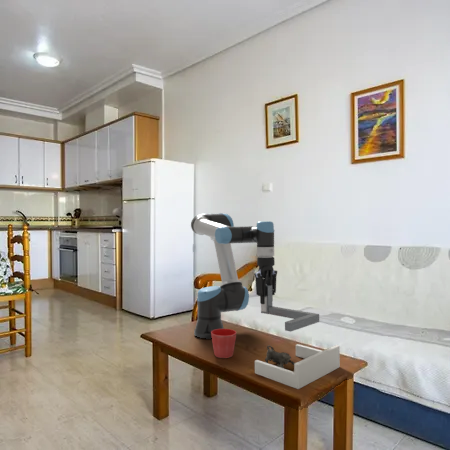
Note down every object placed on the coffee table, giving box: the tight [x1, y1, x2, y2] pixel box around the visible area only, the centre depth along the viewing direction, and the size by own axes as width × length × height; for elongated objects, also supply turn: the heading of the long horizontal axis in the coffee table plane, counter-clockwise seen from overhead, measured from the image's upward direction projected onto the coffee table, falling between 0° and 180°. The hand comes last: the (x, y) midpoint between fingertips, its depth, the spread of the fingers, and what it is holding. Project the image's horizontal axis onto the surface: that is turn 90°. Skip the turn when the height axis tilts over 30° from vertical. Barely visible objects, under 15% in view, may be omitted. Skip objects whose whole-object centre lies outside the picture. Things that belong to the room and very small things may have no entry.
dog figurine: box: [264, 345, 296, 369], centre depth 142 cm, size 12×6×7 cm, turn 48°
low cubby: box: [254, 343, 341, 390], centre depth 139 cm, size 19×27×8 cm
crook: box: [260, 285, 320, 333], centre depth 148 cm, size 27×19×12 cm
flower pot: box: [211, 328, 237, 359], centre depth 156 cm, size 11×11×10 cm
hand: (266, 310), depth 162 cm, fingers closed on crook, 3 cm apart
